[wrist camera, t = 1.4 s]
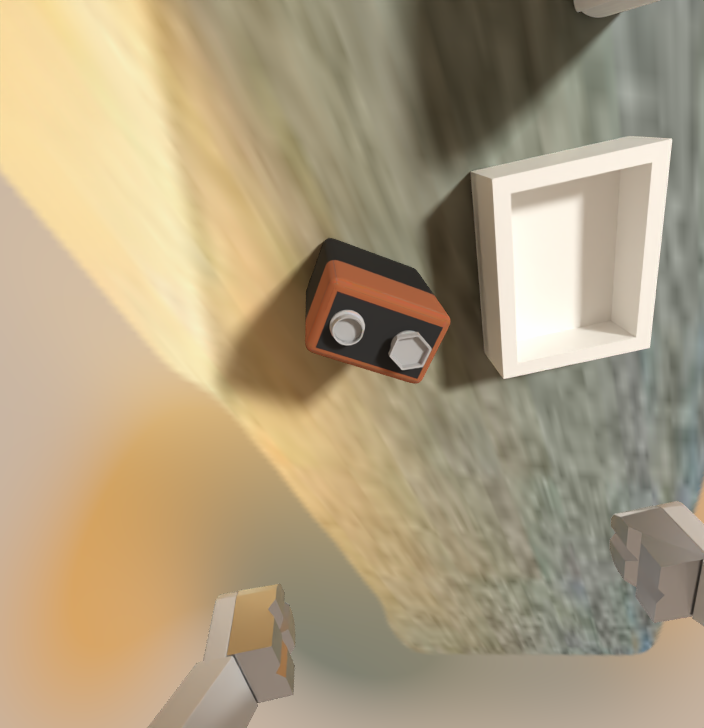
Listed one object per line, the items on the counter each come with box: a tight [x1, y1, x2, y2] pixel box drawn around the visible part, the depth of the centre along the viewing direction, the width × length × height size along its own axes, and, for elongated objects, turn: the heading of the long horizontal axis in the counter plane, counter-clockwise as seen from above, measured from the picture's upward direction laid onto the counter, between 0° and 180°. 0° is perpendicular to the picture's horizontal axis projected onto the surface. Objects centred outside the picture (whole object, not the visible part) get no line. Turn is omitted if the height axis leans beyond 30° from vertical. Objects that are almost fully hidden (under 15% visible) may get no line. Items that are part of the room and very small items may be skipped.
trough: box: [470, 136, 672, 379], centre depth 31 cm, size 13×10×4 cm
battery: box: [305, 238, 451, 383], centre depth 28 cm, size 4×7×10 cm, turn 69°
